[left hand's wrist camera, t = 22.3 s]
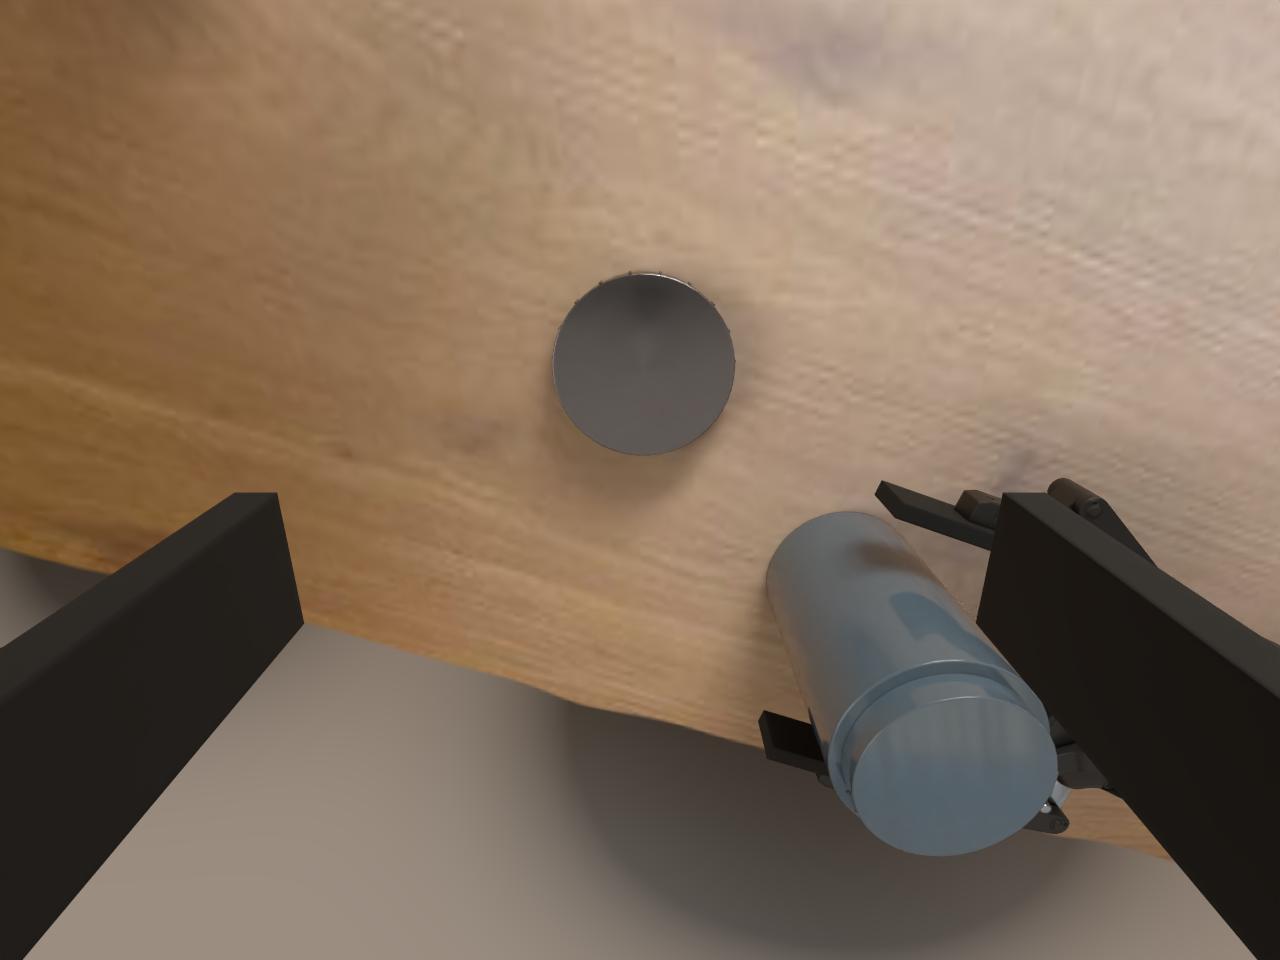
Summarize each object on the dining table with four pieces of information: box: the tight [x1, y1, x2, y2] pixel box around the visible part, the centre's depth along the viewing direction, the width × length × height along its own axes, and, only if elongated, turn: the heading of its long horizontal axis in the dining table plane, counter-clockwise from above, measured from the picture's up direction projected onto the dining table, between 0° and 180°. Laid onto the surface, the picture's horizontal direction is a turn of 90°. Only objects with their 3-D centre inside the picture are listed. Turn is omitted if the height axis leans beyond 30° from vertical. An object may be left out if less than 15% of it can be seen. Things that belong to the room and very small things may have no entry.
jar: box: [766, 512, 1059, 856], centre depth 31 cm, size 8×8×15 cm
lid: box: [552, 271, 735, 455], centre depth 33 cm, size 9×9×2 cm
